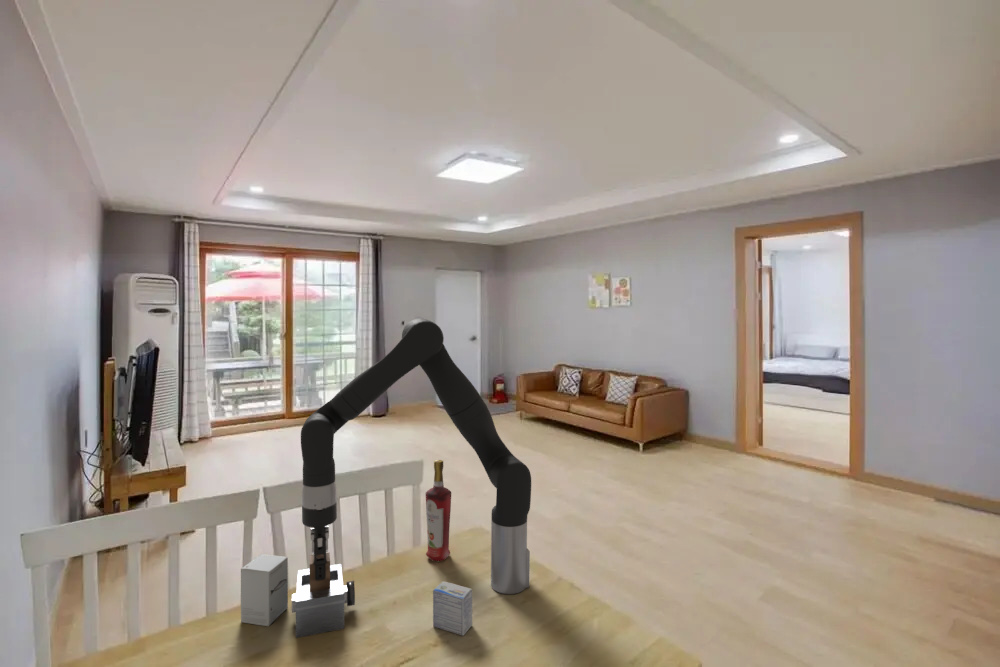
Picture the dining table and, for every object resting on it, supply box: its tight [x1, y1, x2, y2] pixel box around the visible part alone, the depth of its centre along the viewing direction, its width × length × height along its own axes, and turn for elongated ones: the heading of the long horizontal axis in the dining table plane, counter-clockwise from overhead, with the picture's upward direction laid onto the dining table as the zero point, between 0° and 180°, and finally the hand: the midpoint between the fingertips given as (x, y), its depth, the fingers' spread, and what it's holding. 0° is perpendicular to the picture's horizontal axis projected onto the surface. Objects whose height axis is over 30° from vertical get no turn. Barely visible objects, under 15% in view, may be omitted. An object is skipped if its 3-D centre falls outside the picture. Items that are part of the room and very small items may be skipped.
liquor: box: [425, 459, 452, 562], centre depth 145 cm, size 7×7×28 cm
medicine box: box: [432, 580, 473, 636], centre depth 114 cm, size 8×4×9 cm, turn 65°
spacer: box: [309, 552, 331, 592], centre depth 118 cm, size 4×4×7 cm
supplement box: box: [240, 553, 289, 627], centre depth 117 cm, size 7×7×13 cm
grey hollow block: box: [295, 563, 345, 639], centre depth 118 cm, size 10×14×8 cm
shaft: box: [291, 580, 356, 613], centre depth 118 cm, size 14×5×5 cm, turn 110°
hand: (320, 570), depth 118 cm, fingers open, 8 cm apart
